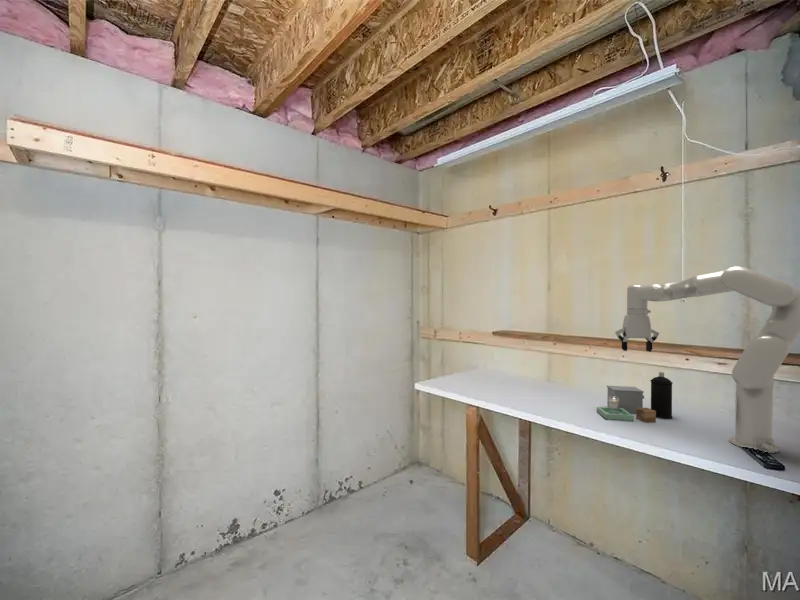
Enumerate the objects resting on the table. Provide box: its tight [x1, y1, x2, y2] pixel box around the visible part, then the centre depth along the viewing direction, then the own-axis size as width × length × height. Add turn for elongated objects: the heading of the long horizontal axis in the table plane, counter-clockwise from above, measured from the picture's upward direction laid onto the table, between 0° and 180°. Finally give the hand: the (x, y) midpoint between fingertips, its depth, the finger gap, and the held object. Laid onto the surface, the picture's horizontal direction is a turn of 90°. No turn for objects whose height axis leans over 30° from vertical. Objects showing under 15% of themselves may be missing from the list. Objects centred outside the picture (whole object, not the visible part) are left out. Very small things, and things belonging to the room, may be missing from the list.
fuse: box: [609, 395, 619, 414], centre depth 158 cm, size 4×4×9 cm
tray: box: [596, 406, 635, 422], centre depth 158 cm, size 11×11×2 cm
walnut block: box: [635, 407, 657, 424], centre depth 153 cm, size 5×5×5 cm
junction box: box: [606, 385, 645, 414], centre depth 167 cm, size 9×14×11 cm, turn 80°
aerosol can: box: [650, 371, 674, 420], centre depth 159 cm, size 8×8×20 cm
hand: (636, 350), depth 155 cm, fingers open, 9 cm apart
